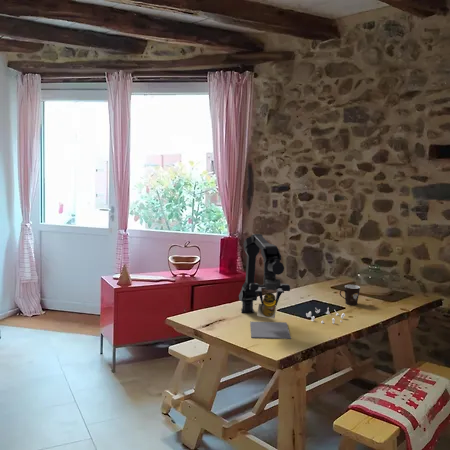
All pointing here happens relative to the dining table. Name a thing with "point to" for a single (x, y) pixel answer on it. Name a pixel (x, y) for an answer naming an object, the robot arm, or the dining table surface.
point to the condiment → (267, 306)
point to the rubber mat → (270, 330)
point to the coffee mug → (351, 294)
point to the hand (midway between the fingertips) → (269, 305)
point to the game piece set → (327, 313)
